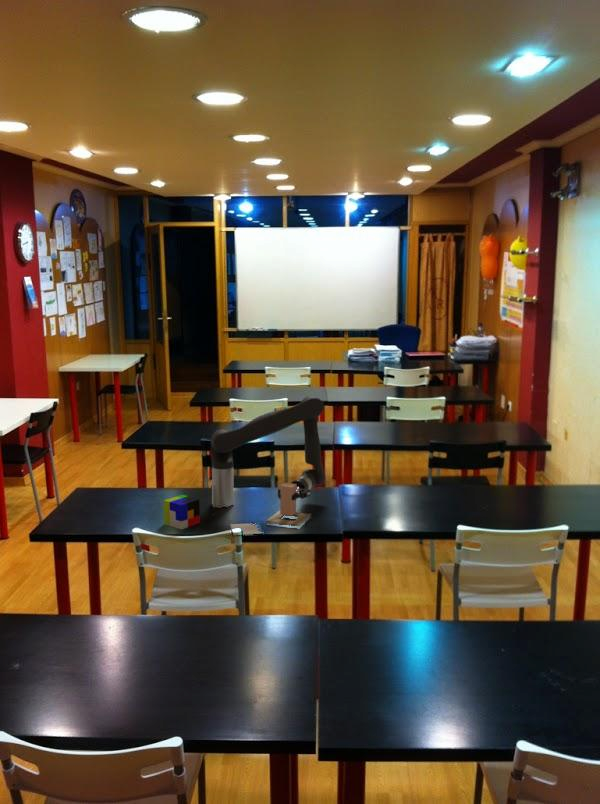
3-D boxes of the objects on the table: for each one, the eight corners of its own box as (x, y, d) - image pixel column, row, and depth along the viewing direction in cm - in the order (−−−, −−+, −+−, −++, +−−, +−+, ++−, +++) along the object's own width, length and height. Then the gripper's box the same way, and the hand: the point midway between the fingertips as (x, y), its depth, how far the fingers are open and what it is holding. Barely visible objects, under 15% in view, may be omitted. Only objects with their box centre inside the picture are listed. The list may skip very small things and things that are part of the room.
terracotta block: (280, 514, 287) (280, 485, 285) (284, 510, 292) (285, 482, 290) (291, 516, 286) (292, 487, 284) (296, 512, 290) (296, 484, 288)
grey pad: (232, 536, 273) (232, 534, 273) (230, 525, 284) (230, 524, 284) (263, 534, 275) (263, 532, 275) (260, 524, 287) (260, 522, 286)
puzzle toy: (181, 529, 280) (181, 505, 279) (164, 524, 286) (163, 500, 285) (199, 523, 288) (199, 499, 286) (182, 518, 294) (182, 494, 292)
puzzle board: (266, 525, 285) (266, 520, 285) (279, 514, 298) (279, 510, 298) (299, 529, 281) (299, 524, 280) (310, 518, 294) (311, 514, 293)
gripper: (285, 476, 303) (269, 486, 287) (316, 479, 298) (303, 490, 282) (284, 493, 304) (269, 504, 288) (316, 497, 299) (302, 508, 283)
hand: (286, 497), depth 285 cm, fingers closed on terracotta block, 5 cm apart
